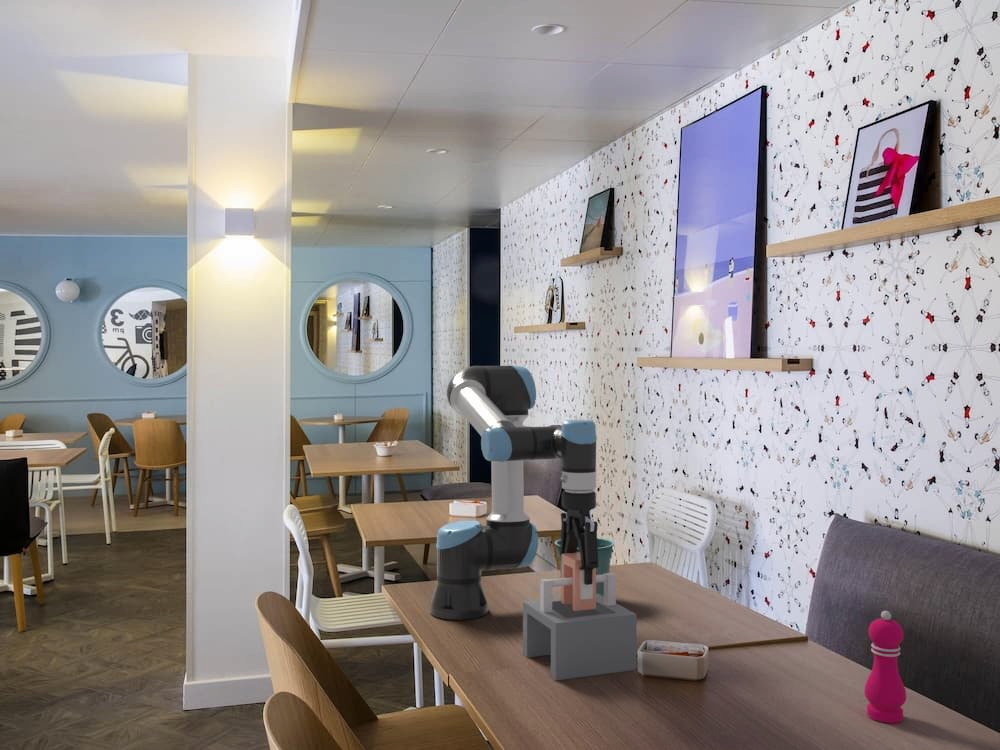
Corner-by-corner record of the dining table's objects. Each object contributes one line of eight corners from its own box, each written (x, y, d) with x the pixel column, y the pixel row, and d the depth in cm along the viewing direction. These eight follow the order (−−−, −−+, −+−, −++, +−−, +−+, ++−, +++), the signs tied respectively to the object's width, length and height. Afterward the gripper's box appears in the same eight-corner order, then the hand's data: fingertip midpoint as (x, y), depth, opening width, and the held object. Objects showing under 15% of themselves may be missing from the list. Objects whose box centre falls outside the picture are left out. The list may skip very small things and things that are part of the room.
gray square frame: (522, 654, 207) (523, 571, 207) (598, 644, 214) (598, 564, 213) (555, 680, 190) (555, 590, 190) (636, 669, 197) (636, 582, 197)
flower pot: (544, 596, 256) (544, 539, 256) (594, 590, 263) (594, 534, 263) (573, 611, 242) (573, 550, 241) (625, 604, 248) (626, 545, 248)
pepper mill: (857, 710, 175) (858, 606, 174) (893, 708, 175) (894, 605, 175) (875, 725, 168) (877, 616, 167) (913, 724, 168) (915, 616, 168)
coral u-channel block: (561, 602, 204) (561, 553, 204) (581, 600, 206) (581, 552, 206) (575, 611, 198) (575, 560, 197) (595, 608, 199) (595, 558, 199)
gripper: (544, 485, 209) (544, 585, 210) (583, 497, 191) (583, 607, 191) (574, 483, 212) (574, 582, 212) (615, 495, 193) (615, 604, 194)
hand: (578, 594), depth 202 cm, fingers closed on coral u-channel block, 7 cm apart
